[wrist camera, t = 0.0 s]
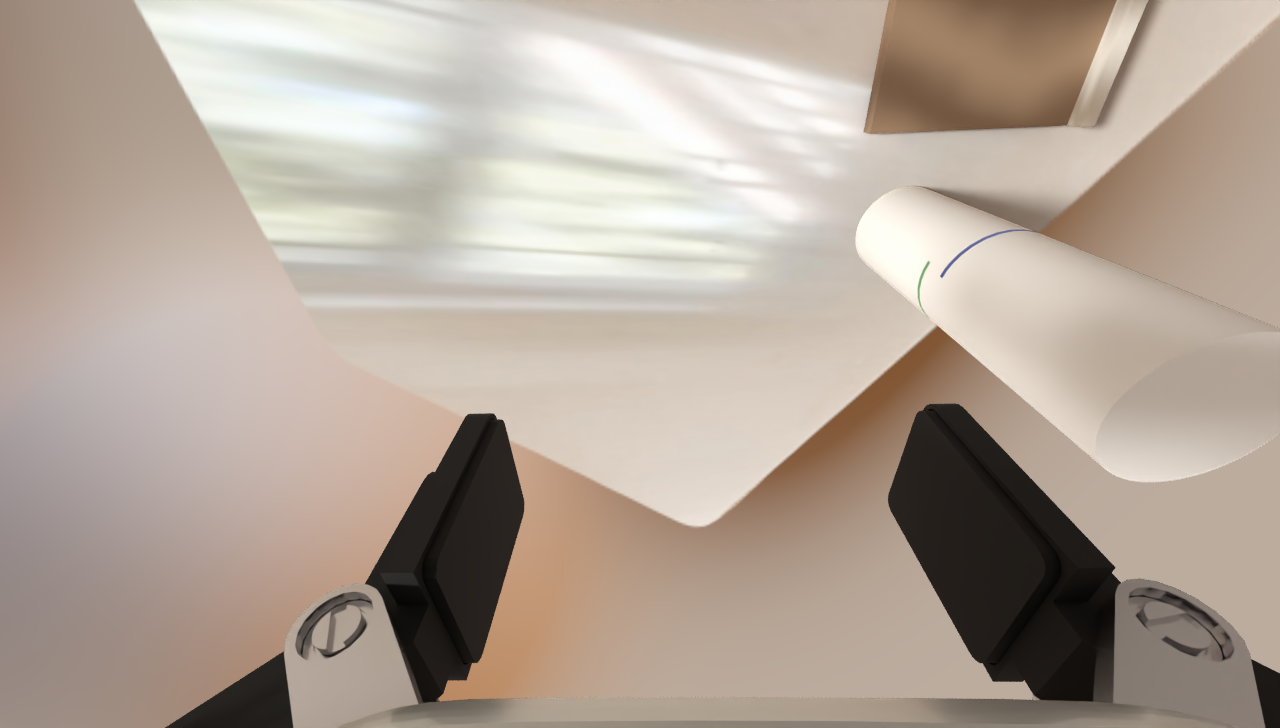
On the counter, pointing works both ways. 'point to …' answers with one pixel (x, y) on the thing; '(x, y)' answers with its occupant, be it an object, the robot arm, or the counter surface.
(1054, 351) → the cylindrical container
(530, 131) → the counter surface
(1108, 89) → the shelf board
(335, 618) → the robot arm
